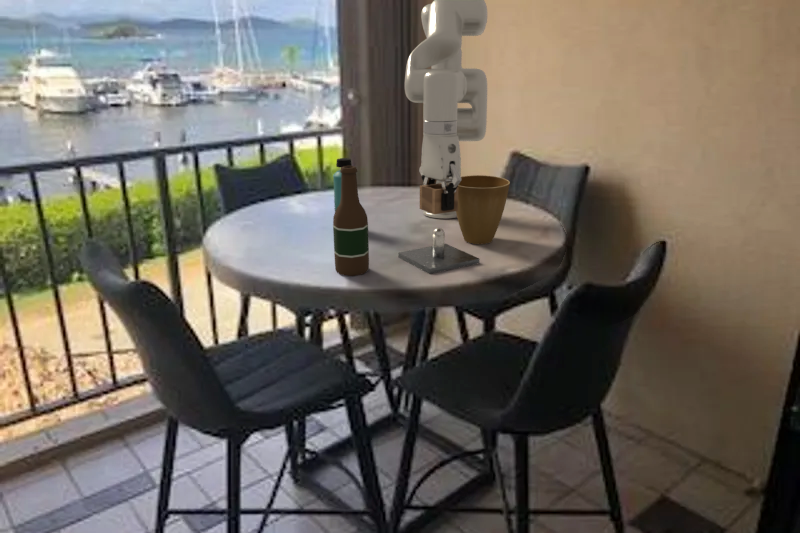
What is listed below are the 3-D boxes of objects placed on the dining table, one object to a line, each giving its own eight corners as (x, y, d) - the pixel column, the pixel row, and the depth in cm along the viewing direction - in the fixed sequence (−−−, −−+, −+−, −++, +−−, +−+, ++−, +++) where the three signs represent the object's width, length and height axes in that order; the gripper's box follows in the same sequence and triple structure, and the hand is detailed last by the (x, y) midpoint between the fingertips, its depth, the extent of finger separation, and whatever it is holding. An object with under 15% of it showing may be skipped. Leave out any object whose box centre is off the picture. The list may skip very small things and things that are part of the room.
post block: (445, 248, 160) (446, 217, 157) (479, 263, 148) (480, 230, 146) (398, 257, 153) (398, 225, 150) (429, 273, 142) (429, 240, 139)
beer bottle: (335, 265, 147) (330, 163, 139) (368, 264, 148) (365, 163, 140) (334, 277, 140) (330, 170, 132) (369, 276, 141) (367, 169, 133)
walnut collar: (442, 205, 150) (442, 182, 149) (457, 210, 145) (458, 187, 143) (419, 208, 147) (419, 185, 146) (434, 214, 142) (434, 190, 140)
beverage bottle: (354, 233, 173) (352, 160, 166) (331, 232, 174) (328, 160, 168) (361, 227, 179) (359, 156, 172) (338, 225, 180) (335, 156, 174)
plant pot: (440, 236, 169) (441, 178, 164) (488, 230, 175) (490, 173, 170) (467, 252, 156) (469, 189, 151) (517, 244, 162) (521, 183, 157)
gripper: (477, 131, 135) (474, 212, 141) (432, 124, 149) (432, 198, 155) (448, 133, 131) (446, 216, 137) (405, 126, 146) (406, 201, 151)
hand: (438, 206), depth 146 cm, fingers closed on walnut collar, 6 cm apart
